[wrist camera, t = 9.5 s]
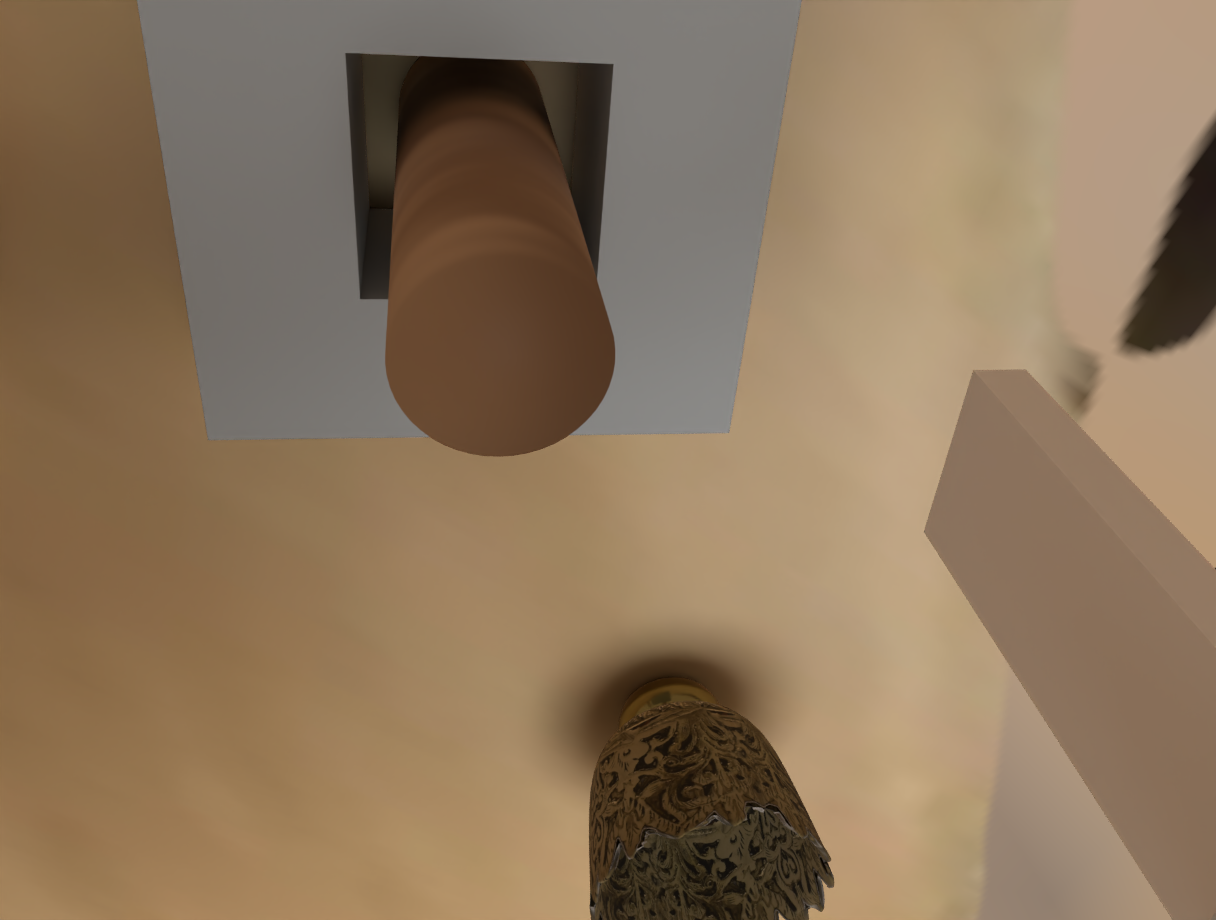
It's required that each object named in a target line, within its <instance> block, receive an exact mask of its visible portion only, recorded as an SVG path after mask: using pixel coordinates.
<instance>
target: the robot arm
mask: <svg viewBox="0 0 1216 920" xmlns="http://www.w3.org/2000/svg"><path fill="white" fill-rule="evenodd" d="M924 533H925V534H926V536H927V537H928V539H929V540H930V542H931V544H932V545H933V547H934V548H935V550H936V551H937V553H938V555H939V556H940V558H941V559H942V561H943V562H944V564H945V565H946V567H947V569H948V570H949V572H950V573H951V575H952V576H953V578H954V579H955V581H956V583H957V584H958V586H959V587H960V589H961V590H962V592H963V594H964V595H965V597H966V598H967V600H968V601H969V603H970V604H971V606H972V608H973V609H974V611H975V612H976V614H977V615H978V617H979V619H980V620H981V622H982V623H983V625H984V626H985V628H986V629H987V631H988V633H989V634H990V636H991V637H992V639H993V640H994V642H995V643H996V645H997V647H998V648H999V650H1000V651H1001V653H1002V654H1003V656H1004V658H1005V659H1006V661H1007V662H1008V664H1009V665H1010V667H1011V668H1012V670H1013V672H1014V673H1015V675H1016V676H1017V678H1018V679H1019V681H1020V682H1021V684H1022V686H1023V687H1024V689H1025V690H1026V692H1027V693H1028V695H1029V696H1030V698H1031V700H1032V701H1033V703H1034V704H1035V706H1036V707H1037V709H1038V711H1039V712H1040V714H1041V715H1042V717H1043V718H1044V720H1045V721H1046V723H1047V725H1048V726H1049V728H1050V729H1051V731H1052V732H1053V734H1054V736H1055V737H1056V739H1057V740H1058V742H1059V743H1060V745H1061V746H1062V748H1063V749H1064V751H1065V753H1066V754H1067V756H1068V757H1069V759H1070V761H1071V762H1072V764H1073V765H1074V767H1075V768H1076V769H1077V771H1078V773H1079V775H1080V776H1081V778H1082V779H1083V781H1084V782H1085V784H1086V785H1087V787H1088V789H1089V790H1090V792H1091V793H1092V795H1093V796H1094V798H1095V799H1096V801H1097V803H1098V804H1099V806H1100V807H1101V809H1102V810H1103V812H1104V814H1105V815H1106V817H1107V818H1108V820H1109V821H1110V823H1111V824H1112V826H1113V827H1114V829H1115V830H1116V832H1117V834H1118V835H1119V837H1120V839H1121V840H1122V842H1123V843H1124V845H1125V846H1126V848H1127V849H1128V851H1129V852H1130V854H1131V856H1132V857H1133V859H1134V860H1135V862H1136V863H1137V865H1138V867H1139V868H1140V870H1141V871H1142V873H1143V874H1144V876H1145V878H1146V879H1147V881H1148V882H1149V884H1150V885H1151V887H1152V888H1153V890H1154V892H1155V893H1156V895H1157V896H1158V898H1159V899H1160V901H1161V902H1162V904H1163V906H1164V907H1165V909H1166V910H1167V912H1168V913H1169V915H1170V916H1171V918H1172V920H1216V568H1214V567H1213V566H1212V565H1211V564H1210V563H1209V562H1208V561H1207V560H1206V559H1205V558H1204V557H1203V555H1202V554H1201V553H1199V551H1198V550H1197V549H1196V548H1195V547H1194V546H1193V545H1192V544H1191V543H1190V542H1189V541H1188V540H1187V539H1186V538H1185V537H1184V536H1183V534H1181V532H1180V531H1179V530H1178V529H1177V528H1176V527H1175V526H1174V525H1173V524H1172V523H1171V522H1170V521H1169V520H1168V519H1167V518H1166V517H1165V516H1164V515H1163V514H1162V512H1161V511H1160V510H1159V509H1158V508H1157V507H1156V506H1155V505H1154V504H1153V503H1152V502H1151V501H1150V500H1149V499H1148V498H1147V497H1146V496H1145V495H1144V493H1143V492H1142V491H1141V490H1140V489H1139V488H1138V487H1137V486H1136V485H1135V484H1134V483H1133V482H1132V481H1131V480H1130V479H1129V478H1128V477H1127V476H1126V475H1125V473H1124V472H1123V471H1122V470H1121V469H1120V468H1119V467H1118V466H1117V465H1116V464H1115V463H1114V462H1113V461H1112V460H1111V459H1110V458H1109V457H1108V456H1107V455H1106V454H1105V452H1103V450H1102V449H1101V448H1100V447H1099V446H1098V445H1097V444H1096V443H1095V442H1094V441H1093V440H1092V439H1091V438H1090V437H1089V436H1088V435H1087V434H1086V432H1085V431H1084V430H1083V429H1082V428H1081V427H1080V426H1079V425H1078V424H1077V423H1076V422H1075V421H1074V420H1073V419H1072V418H1071V417H1070V416H1069V415H1068V414H1067V413H1066V411H1065V410H1064V409H1063V408H1062V407H1061V406H1060V405H1059V404H1058V403H1057V402H1056V401H1055V400H1054V399H1053V398H1052V397H1051V396H1050V395H1049V394H1048V393H1047V391H1046V390H1045V389H1044V388H1043V387H1042V386H1041V385H1040V384H1039V383H1038V382H1037V381H1036V380H1035V379H1034V378H1033V377H1032V376H1031V375H1030V374H1029V373H1028V372H1027V370H1026V369H1024V370H973V373H972V376H971V379H970V383H969V386H968V389H967V392H966V396H965V399H964V402H963V406H962V409H961V412H960V415H959V419H958V422H957V425H956V428H955V432H954V435H953V438H952V441H951V445H950V448H949V451H948V455H947V458H946V461H945V464H944V468H943V471H942V474H941V477H940V481H939V484H938V487H937V490H936V494H935V497H934V500H933V504H932V507H931V510H930V513H929V517H928V520H927V523H926V526H925V530H924Z"/></svg>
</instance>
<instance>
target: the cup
mask: <svg viewBox="0 0 1216 920" xmlns="http://www.w3.org/2000/svg"><path fill="white" fill-rule="evenodd" d="M589 858H590V914H591V920H779V916H778V914H779V913H780V915H781V916H782V917H783V918H784V919H786V920H809V916H808V909H810V907H812V908H815V909H817V910H819V911H820V912H822V911H823V909H824V900H825V899H824V891H823V885H822V881H821V879H822V880H823V881H824V883H825V884H826V885H827V887H828V888H833V887H834V877H833V874H832V872H831V870H830V867H829V865H828V863H827V862H830V861H831V858H830V856H829V854H828V852H827V851H826V849H825V848H824V846H823V844H822V842H821V840H820V838H819V836H818V833H817V831H816V829H815V827H814V825H813V823H812V821H811V819H810V817H809V815H808V813H807V811H806V809H805V807H804V805H803V803H802V801H801V799H800V797H799V795H798V793H797V791H796V789H795V787H794V785H793V783H792V781H791V779H790V777H789V775H788V773H787V771H786V769H785V768H784V766H783V764H782V762H781V760H780V759H779V757H778V755H777V754H776V752H775V750H774V749H773V747H772V746H771V744H770V743H769V742H768V740H767V739H766V738H765V736H764V735H763V734H762V733H761V732H760V731H759V730H758V729H757V728H756V727H755V726H754V725H753V724H752V723H751V722H750V721H749V720H747V719H746V718H744V717H743V716H741V715H740V714H738V713H736V712H735V711H733V710H731V709H729V708H726V707H723V706H720V705H719V703H718V701H717V699H716V698H715V697H714V695H713V694H712V693H711V692H710V691H709V690H708V689H707V688H705V687H704V686H703V685H702V684H700V683H698V682H696V681H694V680H691V679H688V678H682V677H667V678H661V679H657V680H654V681H651V682H649V683H647V684H645V685H643V686H641V687H640V688H638V689H637V690H636V691H635V692H634V693H632V694H631V696H630V697H629V698H628V699H627V701H626V702H625V704H624V706H623V709H622V711H621V714H620V718H619V723H618V731H617V732H616V733H615V734H614V735H613V736H612V737H611V739H610V740H609V741H608V743H607V744H606V746H605V748H604V749H603V751H602V753H601V755H600V757H599V760H598V762H597V765H596V768H595V771H594V775H593V780H592V786H591V792H590V808H589Z"/></svg>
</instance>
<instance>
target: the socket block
mask: <svg viewBox="0 0 1216 920" xmlns="http://www.w3.org/2000/svg"><path fill="white" fill-rule="evenodd" d="M801 1H802V0H137V4H138V10H139V16H140V22H141V29H142V35H143V41H144V47H145V53H146V59H147V66H148V72H149V78H150V84H151V90H152V97H153V103H154V109H155V115H156V121H157V127H158V134H159V140H160V146H161V152H162V158H163V165H164V171H165V177H166V183H167V189H168V195H169V202H170V208H171V214H172V220H173V226H174V232H175V239H176V245H177V251H178V257H179V263H180V270H181V276H182V282H183V288H184V294H185V300H186V307H187V313H188V319H189V325H190V331H191V337H192V344H193V350H194V356H195V362H196V368H197V375H198V381H199V387H200V393H201V399H202V405H203V412H204V418H205V424H206V430H207V436H208V440H257V439H330V438H403V437H429V436H428V435H427V434H425V433H424V432H422V431H421V430H420V429H419V428H418V427H417V426H415V425H414V424H413V423H412V422H411V421H410V420H409V418H408V417H407V416H406V415H405V414H404V412H403V411H402V410H401V408H400V407H399V405H398V403H397V402H396V400H395V398H394V396H393V393H392V391H391V389H390V386H389V382H388V379H387V374H386V366H385V348H386V330H387V313H388V295H389V277H390V260H391V242H392V224H393V209H376V208H370V207H369V188H368V168H367V149H366V130H365V111H364V91H363V72H362V54H385V55H409V56H433V57H457V58H482V59H506V60H530V61H554V62H578V63H579V69H578V86H577V103H576V120H575V137H574V154H573V170H572V187H571V195H572V199H573V202H574V205H575V209H576V212H577V215H578V219H579V222H580V225H581V228H582V232H583V235H584V238H585V242H586V245H587V248H588V252H589V255H590V258H591V262H592V265H593V268H594V272H595V275H596V278H597V281H598V285H599V288H600V291H601V295H602V298H603V301H604V305H605V308H606V311H607V315H608V318H609V321H610V325H611V328H612V332H613V335H614V342H615V366H614V372H613V376H612V380H611V383H610V386H609V388H608V390H607V392H606V395H605V397H604V399H603V400H602V402H601V403H600V405H599V406H598V408H597V409H596V411H595V412H594V413H593V414H592V415H591V416H590V418H589V419H588V420H587V421H586V422H585V423H584V424H583V425H581V426H580V427H579V428H578V429H577V430H576V431H574V432H573V433H571V434H570V435H621V434H694V433H729V431H730V425H731V419H732V413H733V407H734V401H735V395H736V389H737V383H738V377H739V371H740V365H741V359H742V353H743V347H744V341H745V335H746V329H747V323H748V317H749V311H750V305H751V299H752V293H753V287H754V281H755V275H756V269H757V264H758V258H759V252H760V246H761V240H762V234H763V228H764V222H765V216H766V210H767V204H768V198H769V192H770V186H771V180H772V174H773V168H774V162H775V156H776V150H777V144H778V138H779V132H780V126H781V120H782V114H783V108H784V103H785V97H786V91H787V85H788V79H789V73H790V67H791V61H792V55H793V49H794V43H795V37H796V31H797V25H798V19H799V13H800V7H801Z"/></svg>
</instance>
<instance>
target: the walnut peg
mask: <svg viewBox="0 0 1216 920" xmlns="http://www.w3.org/2000/svg"><path fill="white" fill-rule="evenodd" d="M385 366H386V374H387V379H388V382H389V386H390V389H391V391H392V393H393V396H394V398H395V400H396V402H397V403H398V405H399V407H400V408H401V410H402V411H403V412H404V414H405V415H406V416H407V417H408V418H409V420H410V421H411V422H412V423H413V424H414V425H415V426H417V427H418V428H419V429H420V430H421V431H422V432H424V433H425V434H427V435H428V436H429V437H431V438H432V439H434V440H436V441H438V442H440V443H442V444H443V445H446V446H448V447H451V448H453V449H456V450H459V451H462V452H466V453H470V454H476V455H482V456H514V455H519V454H525V453H530V452H533V451H536V450H540V449H543V448H545V447H548V446H550V445H552V444H555V443H556V442H558V441H560V440H562V439H564V438H566V437H567V436H568V435H570V434H571V433H573V432H574V431H576V430H577V429H578V428H579V427H580V426H581V425H583V424H584V423H585V422H586V421H587V420H588V419H589V418H590V416H591V415H592V414H593V413H594V412H595V411H596V409H597V408H598V406H599V405H600V403H601V402H602V400H603V399H604V397H605V395H606V392H607V390H608V388H609V386H610V383H611V380H612V376H613V372H614V366H615V342H614V335H613V332H612V328H611V325H610V321H609V318H608V315H607V311H606V308H605V305H604V301H603V298H602V295H601V291H600V288H599V285H598V281H597V278H596V275H595V272H594V268H593V265H592V262H591V258H590V255H589V252H588V248H587V245H586V242H585V238H584V235H583V232H582V228H581V225H580V222H579V219H578V215H577V212H576V209H575V205H574V202H573V199H572V195H571V192H570V189H569V185H568V182H567V179H566V175H565V172H564V169H563V165H562V162H561V159H560V156H559V152H558V149H557V146H556V142H555V139H554V136H553V132H552V129H551V126H550V122H549V119H548V116H547V112H546V109H545V106H544V103H543V99H542V96H541V93H540V89H539V86H538V84H537V81H536V79H535V77H534V75H533V74H532V72H531V70H530V69H529V68H528V66H527V65H526V64H525V63H524V61H523V60H506V59H482V58H457V57H433V56H420V57H419V58H418V60H417V61H416V62H415V63H414V64H413V66H412V67H411V69H410V70H409V72H408V74H407V76H406V78H405V80H404V83H403V86H402V89H401V94H400V100H399V118H398V136H397V153H396V171H395V189H394V206H393V224H392V242H391V260H390V277H389V295H388V313H387V330H386V348H385Z"/></svg>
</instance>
